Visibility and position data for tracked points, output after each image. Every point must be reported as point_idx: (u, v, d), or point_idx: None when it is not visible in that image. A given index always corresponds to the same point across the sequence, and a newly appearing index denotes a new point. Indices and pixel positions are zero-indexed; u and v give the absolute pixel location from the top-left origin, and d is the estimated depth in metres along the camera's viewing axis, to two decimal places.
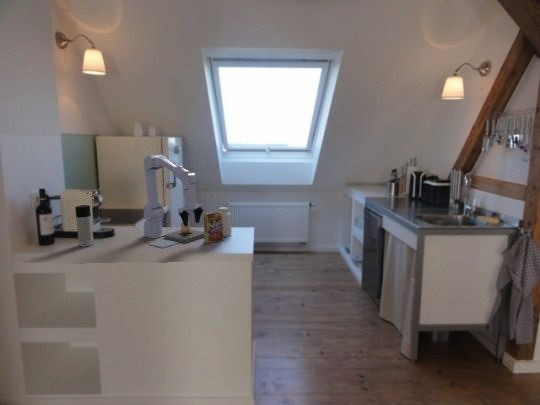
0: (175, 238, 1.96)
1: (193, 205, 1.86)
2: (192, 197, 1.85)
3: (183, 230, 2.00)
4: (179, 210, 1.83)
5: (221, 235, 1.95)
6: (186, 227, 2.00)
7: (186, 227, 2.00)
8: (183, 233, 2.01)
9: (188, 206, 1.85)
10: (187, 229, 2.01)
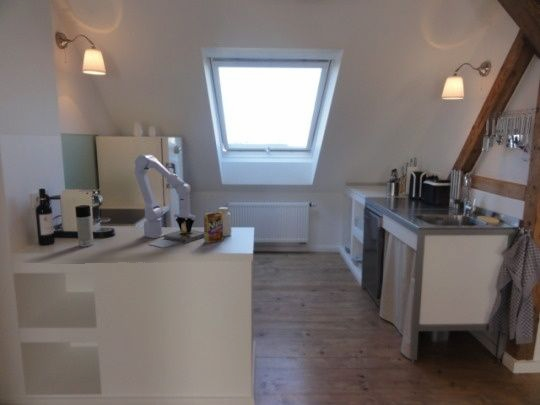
0: (175, 238, 1.96)
1: (180, 214, 1.99)
2: (188, 206, 1.99)
3: (183, 230, 2.00)
4: None
5: (221, 235, 1.95)
6: None
7: None
8: (183, 233, 2.01)
9: None
10: None
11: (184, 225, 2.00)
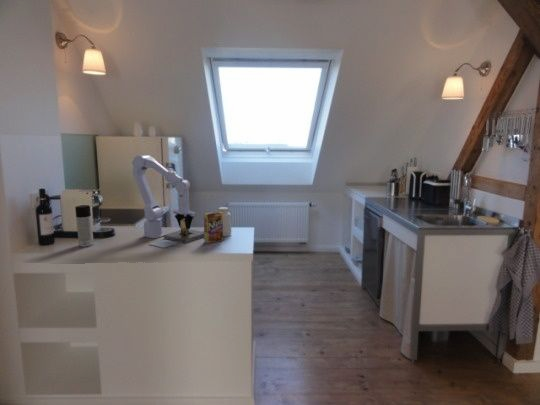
0: (175, 238, 1.96)
1: (179, 210, 1.98)
2: (187, 202, 1.98)
3: (182, 227, 2.00)
4: None
5: (221, 235, 1.95)
6: (185, 223, 1.99)
7: (185, 223, 1.99)
8: (182, 230, 2.00)
9: None
10: None
11: (183, 222, 1.99)
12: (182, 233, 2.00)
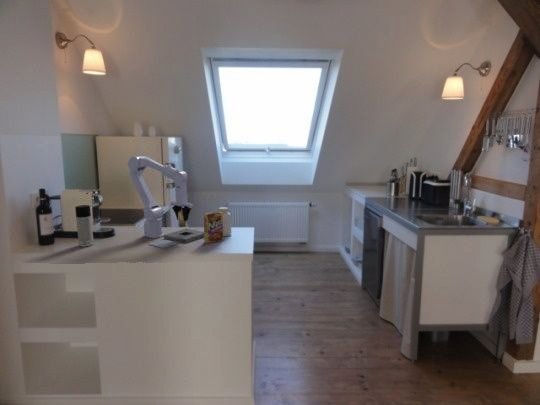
0: (175, 238, 1.96)
1: (176, 202, 1.96)
2: (184, 194, 1.96)
3: (180, 218, 1.98)
4: None
5: (221, 235, 1.95)
6: None
7: (182, 215, 1.97)
8: (180, 222, 1.98)
9: None
10: None
11: (181, 213, 1.97)
12: (180, 225, 1.98)
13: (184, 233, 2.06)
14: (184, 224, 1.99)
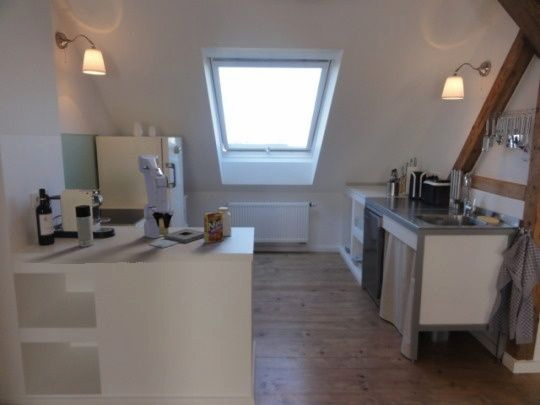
0: (175, 238, 1.96)
1: (156, 208, 1.86)
2: (160, 200, 1.84)
3: (161, 226, 1.87)
4: None
5: (221, 235, 1.95)
6: None
7: None
8: (161, 229, 1.88)
9: None
10: None
11: (162, 221, 1.87)
12: (161, 233, 1.88)
13: (184, 233, 2.06)
14: (165, 232, 1.88)
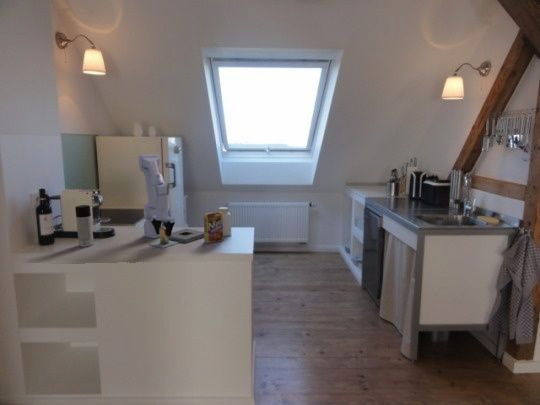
0: (175, 238, 1.96)
1: (157, 216, 1.86)
2: (160, 208, 1.85)
3: (161, 235, 1.88)
4: None
5: (221, 235, 1.95)
6: (164, 232, 1.88)
7: (164, 232, 1.88)
8: (161, 239, 1.89)
9: None
10: None
11: (162, 230, 1.88)
12: (161, 242, 1.89)
13: (184, 233, 2.06)
14: (166, 241, 1.89)
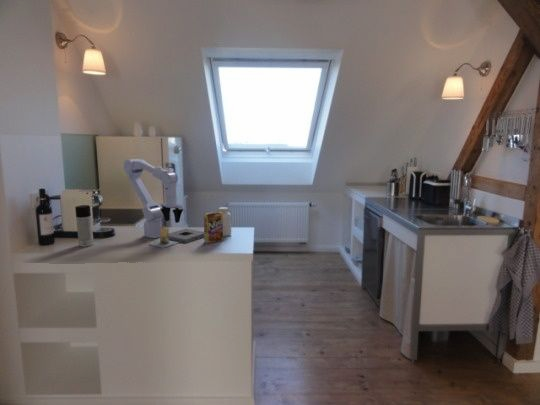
0: (175, 238, 1.96)
1: (166, 203, 1.95)
2: (172, 195, 1.94)
3: (161, 235, 1.88)
4: None
5: (221, 235, 1.95)
6: (164, 232, 1.88)
7: (164, 232, 1.88)
8: (161, 239, 1.89)
9: None
10: (166, 234, 1.89)
11: (162, 230, 1.88)
12: (161, 242, 1.89)
13: (184, 233, 2.06)
14: (166, 241, 1.89)
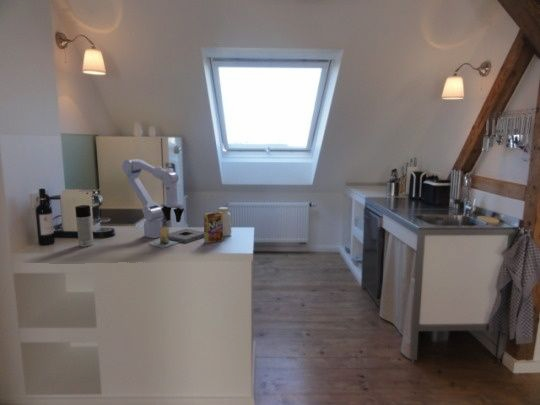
0: (175, 238, 1.96)
1: (167, 203, 1.96)
2: (174, 195, 1.95)
3: (161, 235, 1.88)
4: None
5: (221, 235, 1.95)
6: (164, 232, 1.88)
7: (164, 232, 1.88)
8: (161, 239, 1.89)
9: None
10: (166, 234, 1.89)
11: (162, 230, 1.88)
12: (161, 242, 1.89)
13: (184, 233, 2.06)
14: (166, 241, 1.89)
